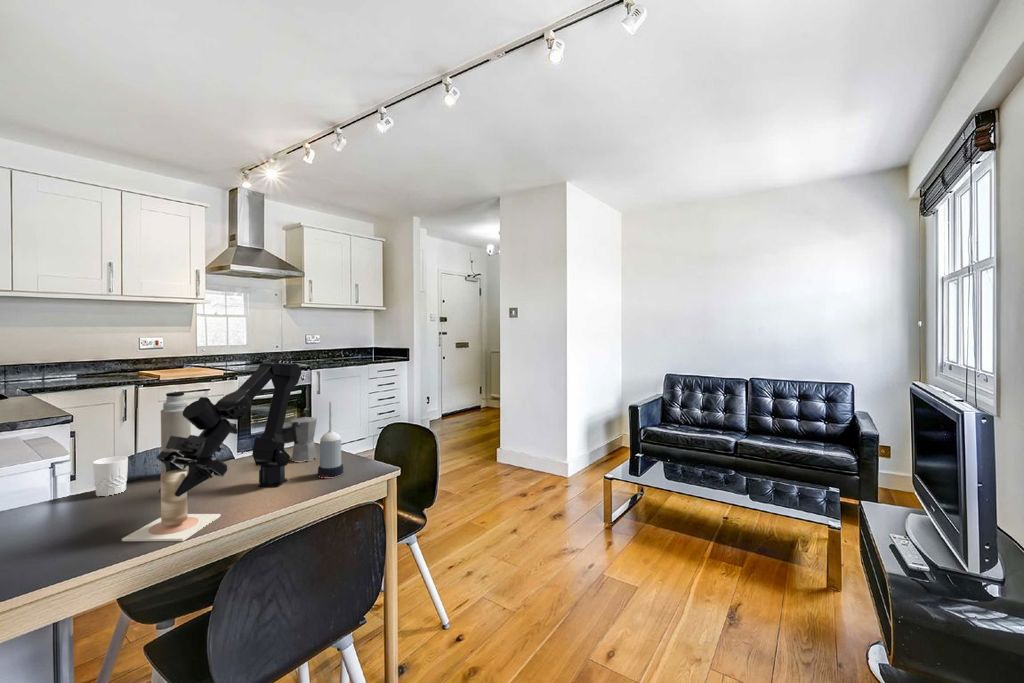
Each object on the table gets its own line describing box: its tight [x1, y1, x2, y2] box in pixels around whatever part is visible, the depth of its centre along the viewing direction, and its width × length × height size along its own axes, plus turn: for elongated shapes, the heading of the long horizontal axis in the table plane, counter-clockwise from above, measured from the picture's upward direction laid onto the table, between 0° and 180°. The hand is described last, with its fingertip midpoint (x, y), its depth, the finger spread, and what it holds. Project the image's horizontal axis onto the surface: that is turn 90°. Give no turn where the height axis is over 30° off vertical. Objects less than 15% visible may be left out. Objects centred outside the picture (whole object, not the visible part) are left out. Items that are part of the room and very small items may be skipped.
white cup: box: [92, 455, 129, 497], centre depth 135 cm, size 8×8×10 cm
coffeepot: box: [290, 411, 317, 461], centre depth 170 cm, size 15×9×18 cm, turn 179°
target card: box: [121, 513, 221, 542], centre depth 112 cm, size 14×14×1 cm
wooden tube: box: [160, 470, 188, 525], centre depth 112 cm, size 5×5×12 cm
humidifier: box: [317, 401, 344, 477], centre depth 153 cm, size 8×8×25 cm
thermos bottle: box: [160, 391, 192, 474], centre depth 151 cm, size 8×8×28 cm
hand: (168, 494), depth 110 cm, fingers closed on wooden tube, 5 cm apart
